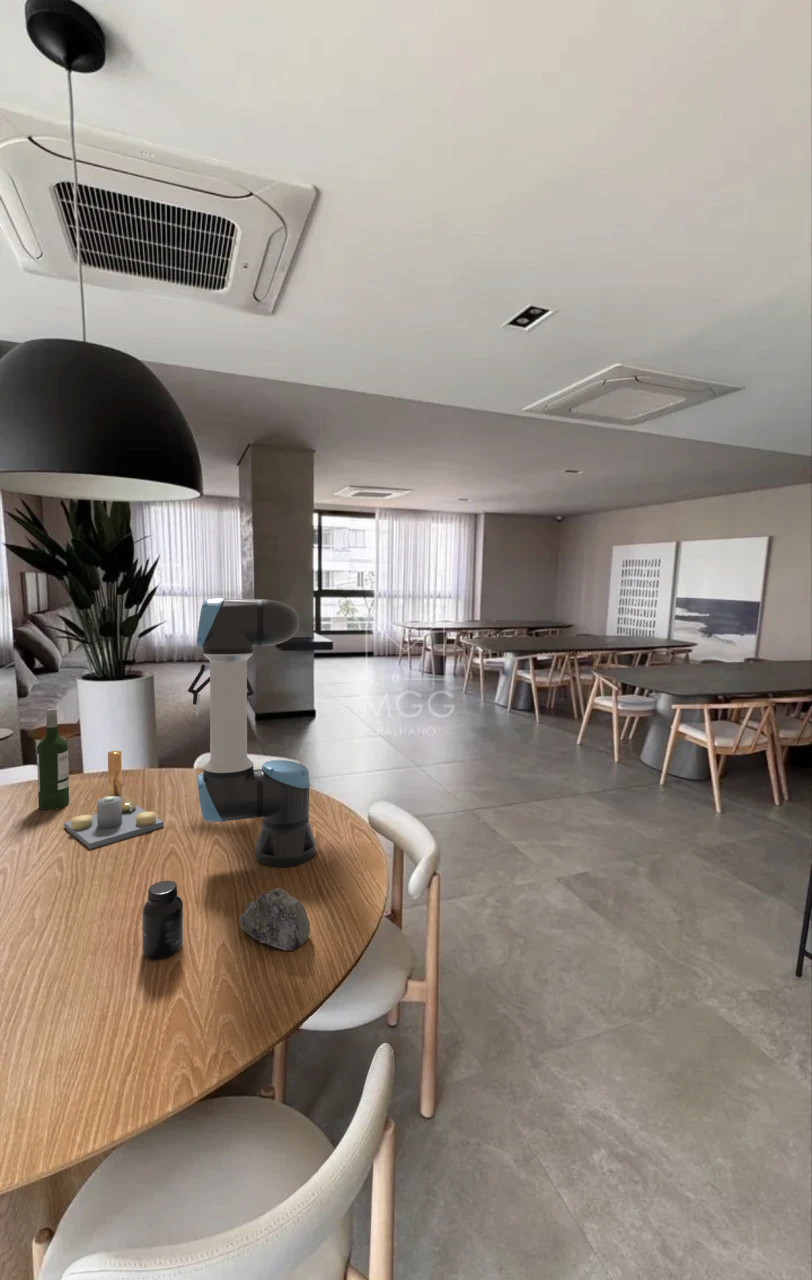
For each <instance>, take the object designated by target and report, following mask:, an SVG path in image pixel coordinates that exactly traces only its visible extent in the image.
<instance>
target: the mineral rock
mask: <svg viewBox="0 0 812 1280" xmlns="http://www.w3.org/2000/svg"><path fill="white" fill-rule="evenodd" d="M239 926H240V928H242V932H244V933H246V934H247V935H248V936H250V937H251V938H253V939H255V940H257V941H259V943H260V944H266V945H268V946H270V947H273V948H277V949H279V950H283V951H290V952H291V951H295V950H296V949H297V947H299V946H303V945H304V944H305V943H304V942H306V941H307V940H308V938H309V936H310V932H311V928H310V926H311V925H310V919H309V917H308V913H307V910H306V908H305V906H304V905H303V903H302V902H300V900H299V899H298V898H296V897H293V896H291V895H290V893H288V892H287V891H286V890H285V889H282V888H279V887H277V888H275V889H272V890H269V891H268V892H267V893H263V894H261V895H258V896H257V897H256V900H254V901H250V902H248V903H247V904H246V906H245V910H244V913H242V915H240V916H239ZM303 943H304V944H303Z"/></svg>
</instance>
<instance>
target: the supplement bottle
mask: <svg viewBox="0 0 812 1280" xmlns="http://www.w3.org/2000/svg"><path fill="white" fill-rule="evenodd" d="M147 892H148V893H147V894H148V895H147V901H146V902H145V903H144V905H143V907H142V915H141V916H142V919H141V920H142V921H141V923H142V929H141V930H142V953H143V955H144V956H145V958H147V959H149V960H152V961H159V960H160V961H161V960H165V959H168V958H171V957H172V956H174V955H176V954H177V953H178V952H179V951H180V950H181V949H182V947H183V945H184V944H183V942H184V903H183V899H182V898H181V897H180V896H179V895H178V885H177V883H176V882H175V881H173V880H161V881H159V882H155V883H153V884H152V885H150V886H149V887H148V890H147Z"/></svg>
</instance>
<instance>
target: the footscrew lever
mask: <svg viewBox="0 0 812 1280" xmlns="http://www.w3.org/2000/svg"><path fill="white" fill-rule="evenodd" d="M122 764H123V763H122V751H121V750H112V751H108V752H107V768H108V769H107V771H108V773H107V775H108V783H107V784H108V797H110V796H119V797H121V798H122V812H129V811H133V810H135V809H136V805H137V802H136V800H134V799H125V798H123V777H122V776H123V775H122V774H123V773H122V772H123V771H122V770H123V768H122Z"/></svg>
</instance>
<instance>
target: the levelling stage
mask: <svg viewBox="0 0 812 1280" xmlns="http://www.w3.org/2000/svg"><path fill="white" fill-rule="evenodd" d="M122 798H123V797H122ZM122 798H121V797H119V796H110V797H109V796H105V797H102V798H100V799H97V800H96V813H95V814H92V815H90V814H81V815H77V816H74V817H72V818H71V819H70V820H68V821H65V822H64V823H63V827H65V828H66V829H67V830H66V829H65V828H64V829H65V830H66V831H68V832H69V833H70V834H71V835H72V834H73V835H72V836H74V837H75V838H76V840H78V839H79V840H78V841H79V842H81V843H82V844H83V845H84V844H85V845H86V846H85V845H84V846H85V847H87V848H88V849H89V850H91V849H95V848H98V847H99V848H100V847H102V846H106V845H108V844H112V843H115V842H118V841H121V840H125V839H128V838H132V837H135V836H138V835H141V834H145V833H147V832H148V833H149V832H151V831H154V830H157V829H160V828H164V826H165V825H164V824H165V822H164V821H163V820H161V819H160V818H158V817H157V813H156V812H154V811H146V810H145V809H143V808H142V807H140V806H138V805H137V804H136V809H135V810H133V811H129V812H122Z"/></svg>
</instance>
